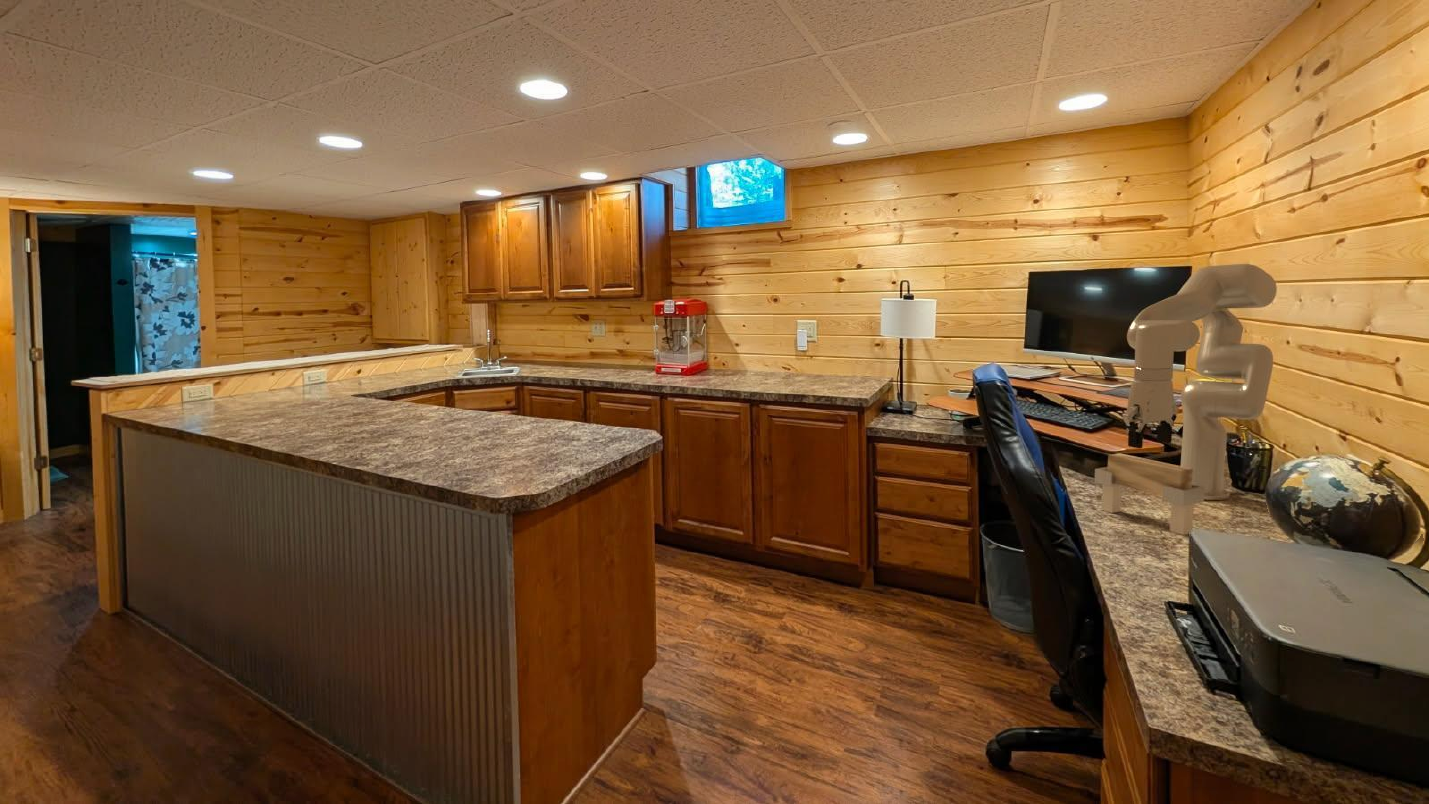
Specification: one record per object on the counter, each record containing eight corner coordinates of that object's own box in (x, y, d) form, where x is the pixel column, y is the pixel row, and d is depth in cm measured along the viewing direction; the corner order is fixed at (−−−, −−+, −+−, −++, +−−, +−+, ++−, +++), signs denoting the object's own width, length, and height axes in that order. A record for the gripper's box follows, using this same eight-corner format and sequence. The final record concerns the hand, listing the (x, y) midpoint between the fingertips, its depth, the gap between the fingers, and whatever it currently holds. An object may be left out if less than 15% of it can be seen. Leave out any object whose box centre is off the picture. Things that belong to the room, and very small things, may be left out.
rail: (1118, 479, 160) (1119, 453, 159) (1190, 498, 143) (1193, 468, 142) (1106, 481, 159) (1108, 455, 158) (1178, 500, 142) (1180, 470, 141)
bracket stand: (1112, 506, 164) (1114, 465, 162) (1201, 532, 143) (1204, 486, 141) (1093, 509, 162) (1095, 468, 160) (1180, 537, 141) (1184, 490, 139)
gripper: (1163, 370, 153) (1159, 437, 156) (1111, 377, 148) (1109, 446, 151) (1194, 372, 146) (1190, 442, 149) (1142, 380, 141) (1138, 452, 144)
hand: (1149, 444), depth 150 cm, fingers open, 9 cm apart
